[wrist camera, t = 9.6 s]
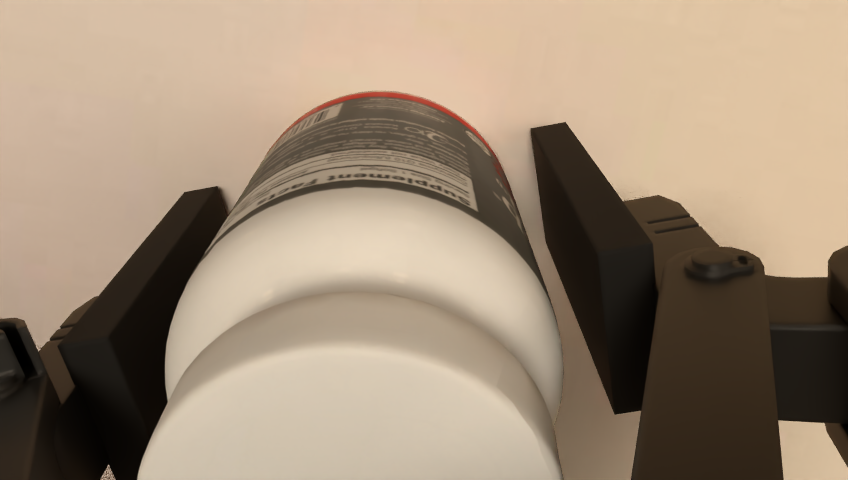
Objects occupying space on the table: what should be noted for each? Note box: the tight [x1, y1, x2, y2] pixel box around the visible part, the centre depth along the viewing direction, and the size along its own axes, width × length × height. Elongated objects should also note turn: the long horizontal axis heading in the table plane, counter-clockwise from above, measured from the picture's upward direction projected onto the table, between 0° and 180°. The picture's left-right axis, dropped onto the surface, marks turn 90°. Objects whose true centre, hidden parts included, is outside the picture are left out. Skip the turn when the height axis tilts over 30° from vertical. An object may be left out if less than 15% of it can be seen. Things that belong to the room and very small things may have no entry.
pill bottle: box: [137, 91, 564, 480], centre depth 13 cm, size 6×6×10 cm
